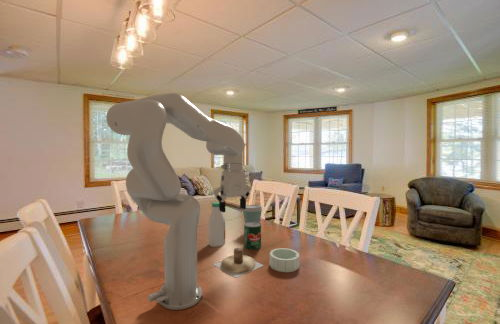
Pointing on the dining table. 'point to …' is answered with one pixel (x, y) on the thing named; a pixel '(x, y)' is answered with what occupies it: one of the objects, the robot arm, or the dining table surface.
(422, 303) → the dining table surface
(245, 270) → the lid
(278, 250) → the bowl
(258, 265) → the mat
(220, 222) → the milk bottle
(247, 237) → the canned tomato
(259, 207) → the disposable coffee cup
